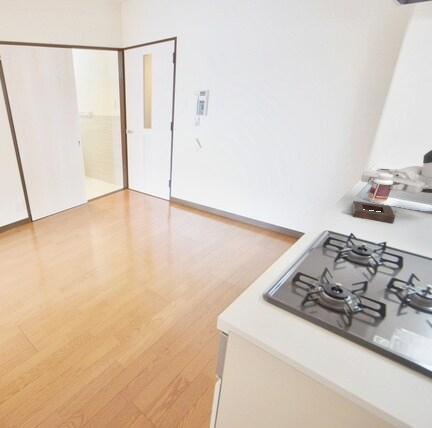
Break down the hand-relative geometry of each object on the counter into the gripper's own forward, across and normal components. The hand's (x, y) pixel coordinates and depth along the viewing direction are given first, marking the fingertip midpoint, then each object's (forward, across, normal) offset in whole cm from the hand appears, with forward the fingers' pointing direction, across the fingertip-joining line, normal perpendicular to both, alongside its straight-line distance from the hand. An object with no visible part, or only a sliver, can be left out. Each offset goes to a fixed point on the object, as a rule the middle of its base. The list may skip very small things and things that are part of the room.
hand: (380, 185), depth 118 cm
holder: (-1, 0, -14) cm, 14 cm away
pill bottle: (-1, 0, -7) cm, 7 cm away
